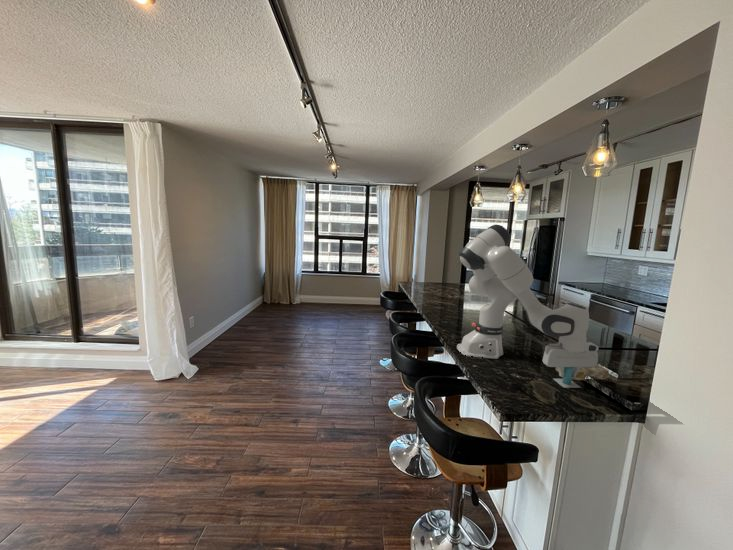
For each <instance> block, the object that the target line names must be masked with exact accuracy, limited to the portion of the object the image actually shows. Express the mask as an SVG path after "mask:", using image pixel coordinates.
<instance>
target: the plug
mask: <svg viewBox="0 0 733 550" xmlns="http://www.w3.org/2000/svg"><path fill="white" fill-rule="evenodd" d="M573 368H574V367H564V372H565V373H566V375H565V377H562V378H561V379H562V383H564V384H566V385H571V380H572V373H573ZM572 381H573V380H572Z"/></svg>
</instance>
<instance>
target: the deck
mask: <svg viewBox="0 0 733 550" xmlns="http://www.w3.org/2000/svg"><path fill="white" fill-rule="evenodd" d="M562 379H563V378H553V380H554V381H555V382H556V383H557V384H559V385H560V386H561V387H562V388H564V389H565V388H567V389H568V388H569V389H570V388H571V389H572V388H573V389H574V388H575V389H577V388H578V389H579V388H580V389H581V388H582V387H581V386H580V385H578V384H577V383H576V382H574V380H571V385H566V384H564V383H562Z"/></svg>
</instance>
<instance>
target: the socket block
mask: <svg viewBox="0 0 733 550" xmlns="http://www.w3.org/2000/svg"><path fill="white" fill-rule="evenodd" d="M573 369H574V368H573ZM562 370H563V372H564V369H562ZM555 371H556V372H558V373H559V370H558V368H557V367H555ZM609 372H610V371H609V370H608V369H606V368H604V367H603V366H601V365H599V364H598V363H597V365H596V366H595V367H580V370H579V371H578V373H577V374H576V377H572V381H586V380H585V377H586V376H587V375H588V376H589V375H590V376H594V377H598V378H609Z"/></svg>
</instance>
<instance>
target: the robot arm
mask: <svg viewBox="0 0 733 550" xmlns="http://www.w3.org/2000/svg"><path fill="white" fill-rule="evenodd" d="M510 242H511V235H510V233H509V231H508V230H507V229H506V228H505V227H504V226H503V225H500V224H492V225H491V226H489V227H487V229H485V230H483V231H482V232H480V233H479V234H478V235H476V236H475V237H474V238H473V239H472V240H470V241H468V242H467V243H466V245H465V246H463V247H462V248H461V250H460V251H459V252H458V258H459V260H460V263H461V264H462V266H464V267H465V268H467V269H468V270H471V271H472V273H473V276H472V277H471V278H470V279H469V281H468V289H469V292H471V293H473V294H475V295H477V296H481V297H486V298H490V302H489V303H488V304H484V305H482V307H480V310H479V317H478V318H479V319H478V323H477V324H476V323H475V322H471V326H472V327H473V328H474V329H473V330H472V331H471V332H469V333H466V335H464V336H463V337H462V340H461V343H458V344H457V345H456V350H458V351H459V353H460V352H461V353H460V354H462V355H463V356H465V355H466V357H471V356H473V358H482V357H483V359H495V360H498V359H500V357H501V356H503V355H504V350H503V341H502V340H503V334H504V333H503V332H504V325H503V323H504V316H505V311H506V309H507V308H508V306H509V305H510V304H511V303H513V302H515V301H516V300H518V301H519V303H520V304H521V305H522V307H523V309H524V311H525V315H526V319H527V320H526V321H527V322H528V323H529V324H530V325H531V326H532V327H534V328H536V329H538V330H539V331H540V332H541V333H543V334H545V335H546V336H549V337H551V338H553V337H554V338H556V337H558V342H557V343H558V344H556V343H549V344H547V345H545V348H544V352H543V356H542V362H543V364H544V365H545V366H546V367H549V368H556V367H557V368H558V370H559V372H558V376H559V377H561V378H563V377H565V375H566V373H565V372H563V370H562V369H564V367H574V369H573V373H572V377H576V374H577V373H578V371H579V370H580V367H595V366H596V365H597V364H598V361H599V360H598V359H599V353H598V351H599V348H600V347H599V346H598V345H597V344H595V343H593V342H591V341H589V340H587V332H588V330H589V326H590V325H589V324H590V311H589V309H588V308H587V307H585V306H583V305H580V304H578V303H574V302H566V303H565V304H564V305H562V306H561V307H558V308H555V309H552V308H550V307H548V306H547V305H545V304H543V303H541V302H540V300H539V299H538V298H537V296H536V295H535V294H534V292H533V291H532V290H531V286H532V285H533V282H534V276H533V274H532V271H531V269H530V268H529V267H528V265H527V264H526V263H525V261H524V260H523V259H522V258H521V257H520V256H519V254H518V253H517V252H515V250H513V249H512V248H511V247H510V246H508V245H509V243H510Z"/></svg>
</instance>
